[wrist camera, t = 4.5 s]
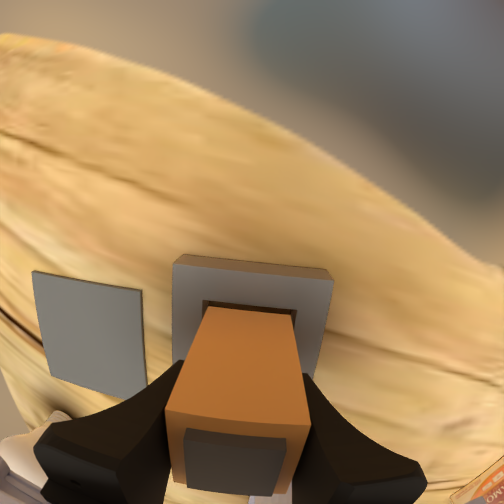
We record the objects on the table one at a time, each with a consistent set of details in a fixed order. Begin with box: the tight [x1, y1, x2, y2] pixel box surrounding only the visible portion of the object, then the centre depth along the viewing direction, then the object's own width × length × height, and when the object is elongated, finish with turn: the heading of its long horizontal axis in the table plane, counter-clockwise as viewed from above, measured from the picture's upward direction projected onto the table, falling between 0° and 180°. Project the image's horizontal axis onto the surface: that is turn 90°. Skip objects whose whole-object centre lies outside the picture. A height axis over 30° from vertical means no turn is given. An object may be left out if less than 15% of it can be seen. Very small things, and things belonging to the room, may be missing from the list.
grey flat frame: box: [172, 254, 334, 380], centre depth 17 cm, size 14×8×2 cm, turn 174°
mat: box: [31, 271, 148, 400], centre depth 18 cm, size 9×9×1 cm
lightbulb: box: [0, 410, 72, 488], centre depth 15 cm, size 6×6×11 cm
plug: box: [165, 306, 311, 497], centre depth 11 cm, size 4×4×8 cm
